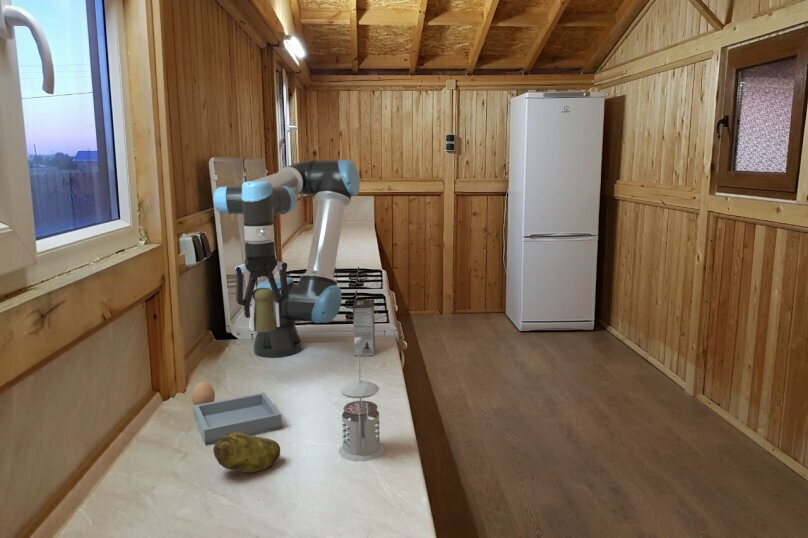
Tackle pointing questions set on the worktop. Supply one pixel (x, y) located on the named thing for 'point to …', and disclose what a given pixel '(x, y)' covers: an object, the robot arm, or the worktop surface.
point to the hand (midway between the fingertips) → (264, 327)
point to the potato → (246, 452)
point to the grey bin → (236, 417)
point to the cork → (263, 310)
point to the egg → (203, 394)
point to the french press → (360, 421)
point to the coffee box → (364, 326)
